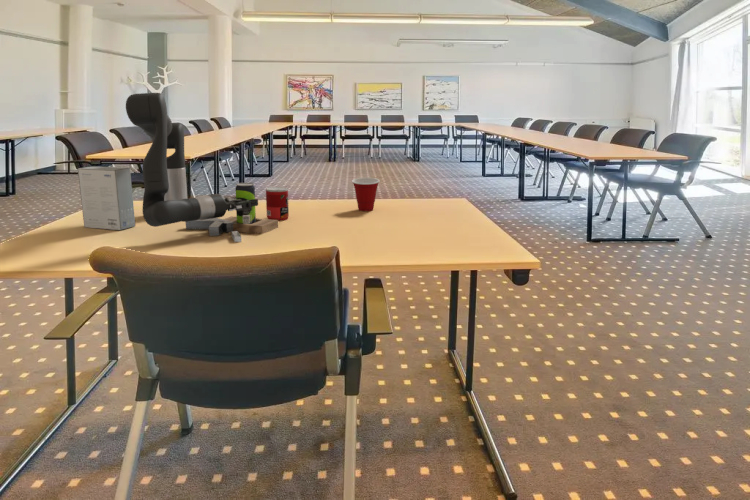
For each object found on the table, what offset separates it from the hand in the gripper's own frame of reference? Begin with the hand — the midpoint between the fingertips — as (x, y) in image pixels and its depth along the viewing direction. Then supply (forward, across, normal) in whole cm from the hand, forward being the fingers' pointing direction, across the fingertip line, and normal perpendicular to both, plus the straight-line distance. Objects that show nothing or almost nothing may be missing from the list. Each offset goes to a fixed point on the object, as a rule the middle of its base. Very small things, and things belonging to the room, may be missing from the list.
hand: (251, 201), depth 211 cm
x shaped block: (-13, +6, +9) cm, 16 cm away
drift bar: (-14, -11, +9) cm, 20 cm away
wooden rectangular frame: (-2, 0, +9) cm, 9 cm away
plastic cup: (+51, -4, +9) cm, 52 cm away
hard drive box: (-34, +34, +9) cm, 49 cm away
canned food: (+16, +6, +9) cm, 19 cm away
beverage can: (-2, 0, +9) cm, 10 cm away
